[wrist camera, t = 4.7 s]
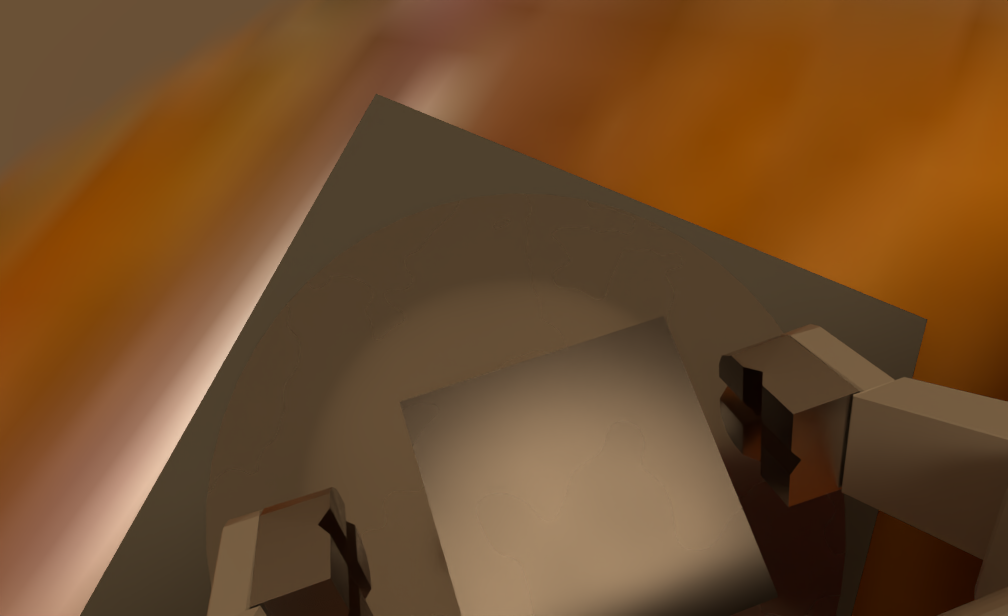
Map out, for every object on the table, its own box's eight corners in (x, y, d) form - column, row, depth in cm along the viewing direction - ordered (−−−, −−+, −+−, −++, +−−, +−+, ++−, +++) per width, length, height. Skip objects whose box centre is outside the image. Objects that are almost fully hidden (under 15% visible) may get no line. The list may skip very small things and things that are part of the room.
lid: (921, 688, 14) (1528, 982, 6) (310, 946, 12) (-15, 1844, 4) (682, 153, 17) (861, -131, 9) (174, 302, 16) (-154, 117, 8)
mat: (916, 323, 17) (927, 319, 16) (734, 1023, 13) (742, 1040, 12) (378, 102, 18) (375, 93, 17) (53, 678, 14) (41, 684, 13)
